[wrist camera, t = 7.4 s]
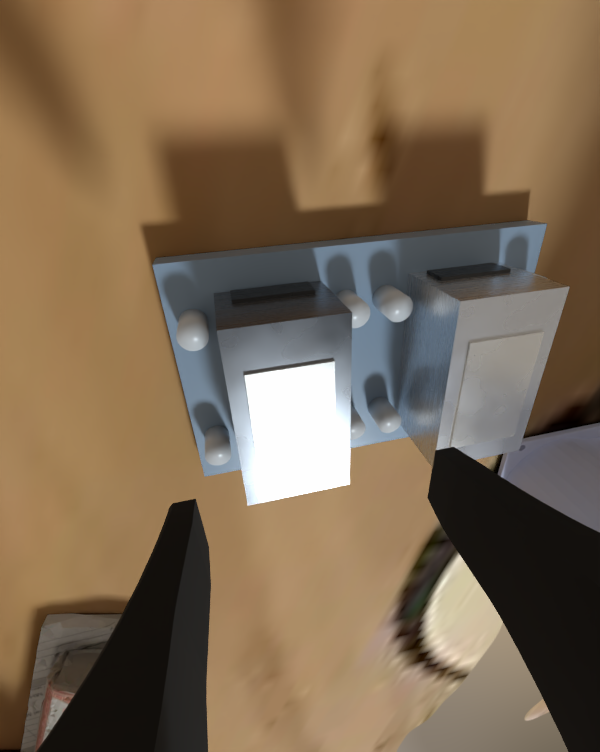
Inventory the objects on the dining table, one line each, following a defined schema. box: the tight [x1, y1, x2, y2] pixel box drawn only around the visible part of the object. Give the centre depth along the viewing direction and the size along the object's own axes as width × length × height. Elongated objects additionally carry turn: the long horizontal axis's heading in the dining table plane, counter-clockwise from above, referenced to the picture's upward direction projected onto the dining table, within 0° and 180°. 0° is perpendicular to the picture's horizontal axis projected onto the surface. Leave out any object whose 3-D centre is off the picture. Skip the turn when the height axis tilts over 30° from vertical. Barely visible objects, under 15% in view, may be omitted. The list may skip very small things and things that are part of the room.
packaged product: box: [21, 613, 122, 752], centre depth 28 cm, size 18×5×10 cm
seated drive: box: [396, 262, 570, 468], centre depth 17 cm, size 4×8×4 cm, turn 3°
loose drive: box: [214, 281, 352, 505], centre depth 16 cm, size 4×8×4 cm, turn 3°
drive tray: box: [152, 220, 547, 476], centre depth 18 cm, size 17×11×3 cm, turn 93°
